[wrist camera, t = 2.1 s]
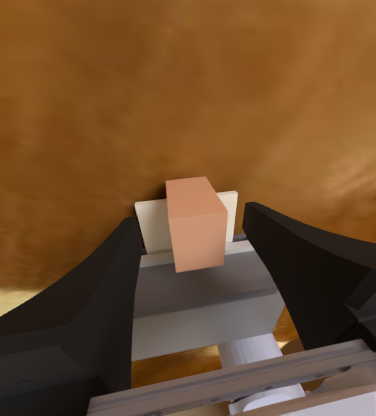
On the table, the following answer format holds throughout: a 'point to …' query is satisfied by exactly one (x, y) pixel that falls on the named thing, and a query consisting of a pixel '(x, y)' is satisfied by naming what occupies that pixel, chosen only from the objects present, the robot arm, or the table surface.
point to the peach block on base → (189, 223)
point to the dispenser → (202, 302)
